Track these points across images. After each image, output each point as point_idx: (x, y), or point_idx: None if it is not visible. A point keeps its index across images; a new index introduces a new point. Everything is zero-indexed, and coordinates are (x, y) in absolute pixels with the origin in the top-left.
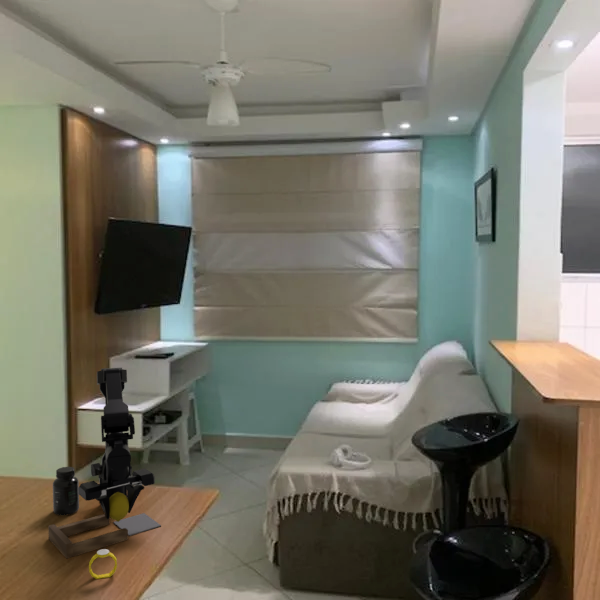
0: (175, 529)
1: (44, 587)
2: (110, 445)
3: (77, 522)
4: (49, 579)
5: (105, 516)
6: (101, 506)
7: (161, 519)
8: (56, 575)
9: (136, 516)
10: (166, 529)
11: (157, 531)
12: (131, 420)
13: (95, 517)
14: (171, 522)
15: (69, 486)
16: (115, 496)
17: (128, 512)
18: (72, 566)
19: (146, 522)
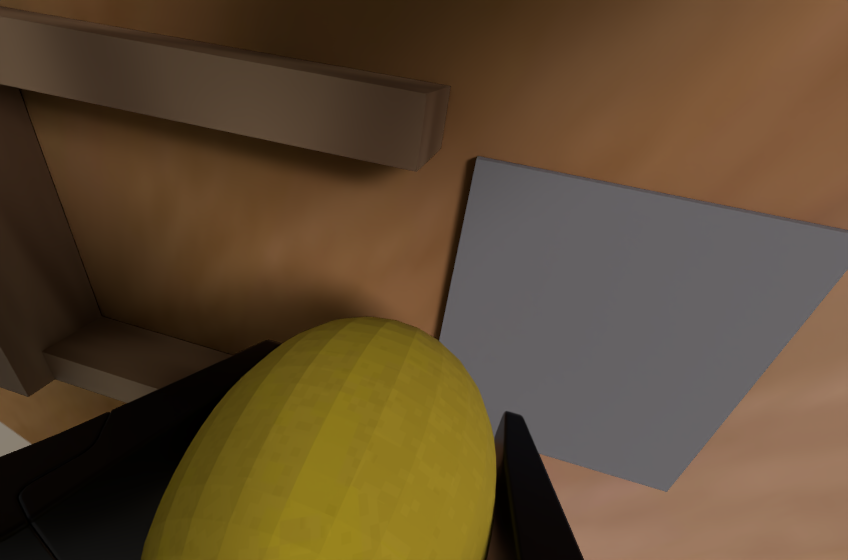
0: (673, 556)
1: (23, 418)
2: None
3: (70, 61)
4: (32, 397)
5: (254, 350)
6: (116, 413)
7: (795, 432)
8: (53, 397)
9: (727, 240)
10: (642, 522)
11: (585, 497)
12: None
13: (261, 97)
14: (771, 506)
15: None
16: None
17: (495, 437)
18: (107, 397)
19: (649, 397)
